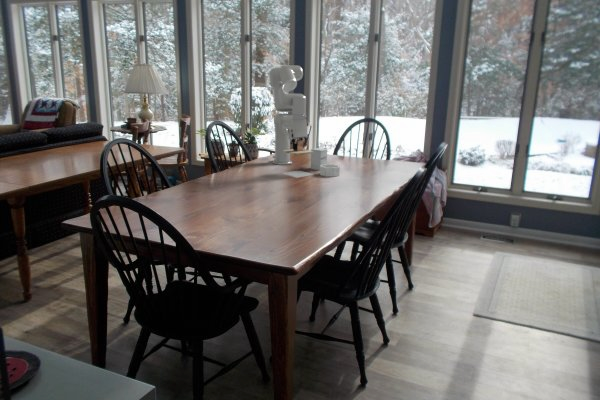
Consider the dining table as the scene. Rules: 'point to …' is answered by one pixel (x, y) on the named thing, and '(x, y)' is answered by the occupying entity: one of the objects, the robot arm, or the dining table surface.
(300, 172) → the mat
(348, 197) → the dining table surface
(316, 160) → the supplement box
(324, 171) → the bowl
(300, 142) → the lid
